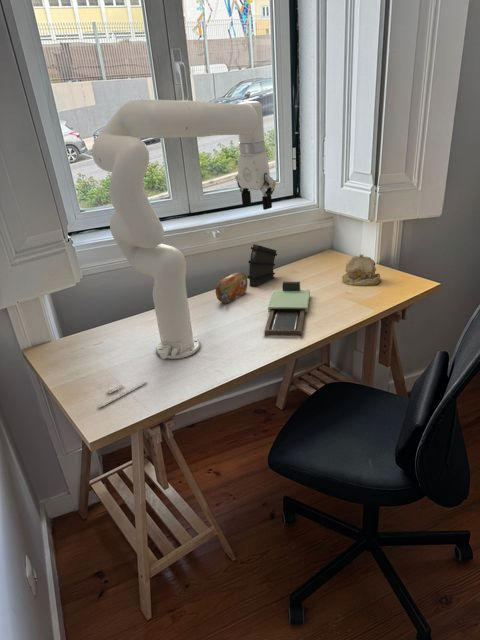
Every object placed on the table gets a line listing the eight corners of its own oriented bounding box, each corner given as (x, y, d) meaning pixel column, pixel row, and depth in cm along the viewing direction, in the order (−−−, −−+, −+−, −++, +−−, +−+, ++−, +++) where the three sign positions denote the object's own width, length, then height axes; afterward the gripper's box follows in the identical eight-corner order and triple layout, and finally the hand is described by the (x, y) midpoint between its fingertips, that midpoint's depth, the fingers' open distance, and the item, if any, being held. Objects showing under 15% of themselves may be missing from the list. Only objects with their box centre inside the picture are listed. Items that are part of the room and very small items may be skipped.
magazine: (242, 283, 188) (251, 243, 185) (264, 287, 198) (273, 250, 195) (249, 285, 186) (259, 245, 183) (271, 289, 196) (281, 251, 193)
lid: (307, 312, 162) (306, 298, 160) (268, 312, 164) (267, 298, 162) (309, 294, 175) (309, 281, 173) (273, 294, 177) (273, 281, 175)
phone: (295, 333, 151) (294, 331, 151) (271, 333, 152) (271, 331, 152) (298, 314, 163) (298, 311, 163) (276, 314, 164) (276, 311, 164)
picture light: (99, 408, 124) (98, 401, 123) (90, 402, 127) (88, 395, 126) (145, 384, 133) (144, 377, 132) (136, 378, 135) (134, 372, 134)
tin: (222, 306, 174) (219, 283, 170) (215, 304, 176) (212, 282, 172) (249, 291, 185) (247, 270, 180) (242, 290, 186) (240, 268, 182)
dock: (301, 338, 150) (300, 330, 149) (264, 337, 152) (264, 330, 151) (307, 298, 176) (307, 291, 175) (276, 298, 178) (276, 291, 177)
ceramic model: (339, 284, 186) (339, 258, 181) (345, 273, 195) (346, 248, 190) (377, 287, 181) (378, 260, 176) (382, 276, 190) (383, 250, 185)
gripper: (224, 148, 151) (230, 205, 159) (262, 152, 139) (267, 213, 148) (242, 144, 155) (248, 200, 163) (281, 147, 143) (285, 207, 152)
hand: (257, 206), depth 156 cm, fingers open, 9 cm apart
